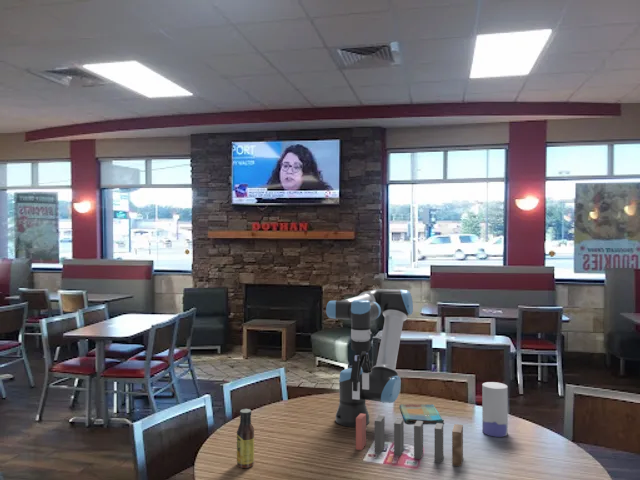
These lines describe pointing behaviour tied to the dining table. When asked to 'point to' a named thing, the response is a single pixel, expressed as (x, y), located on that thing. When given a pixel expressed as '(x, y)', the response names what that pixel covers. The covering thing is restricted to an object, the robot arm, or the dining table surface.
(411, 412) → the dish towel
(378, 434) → the domino
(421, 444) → the domino
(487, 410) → the container
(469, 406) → the dining table surface
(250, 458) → the sauce bottle
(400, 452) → the domino
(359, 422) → the red domino
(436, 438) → the domino
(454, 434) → the end stop
